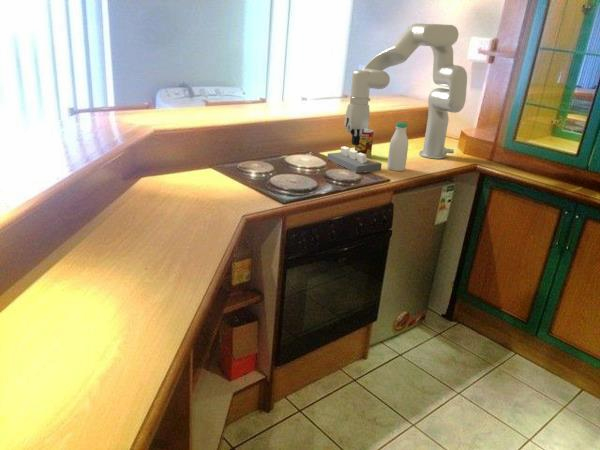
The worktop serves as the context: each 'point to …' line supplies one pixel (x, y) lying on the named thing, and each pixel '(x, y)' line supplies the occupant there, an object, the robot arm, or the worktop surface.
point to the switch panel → (355, 163)
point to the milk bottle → (398, 148)
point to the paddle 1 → (345, 150)
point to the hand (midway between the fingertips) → (355, 144)
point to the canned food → (365, 143)
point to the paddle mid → (353, 154)
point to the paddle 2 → (361, 157)
